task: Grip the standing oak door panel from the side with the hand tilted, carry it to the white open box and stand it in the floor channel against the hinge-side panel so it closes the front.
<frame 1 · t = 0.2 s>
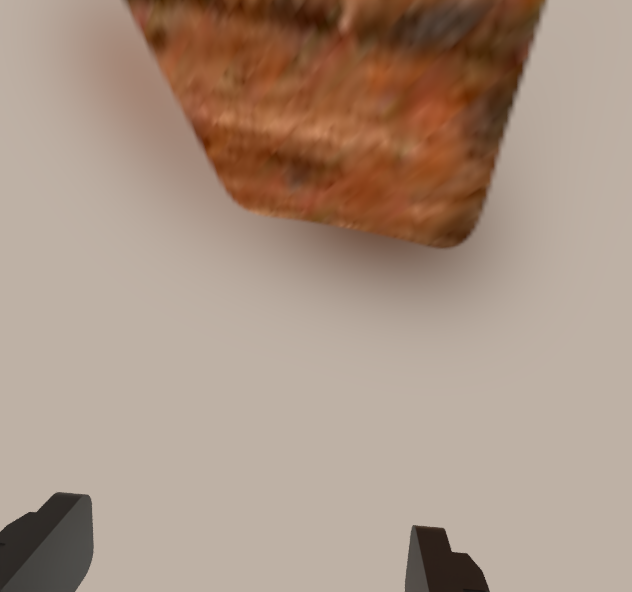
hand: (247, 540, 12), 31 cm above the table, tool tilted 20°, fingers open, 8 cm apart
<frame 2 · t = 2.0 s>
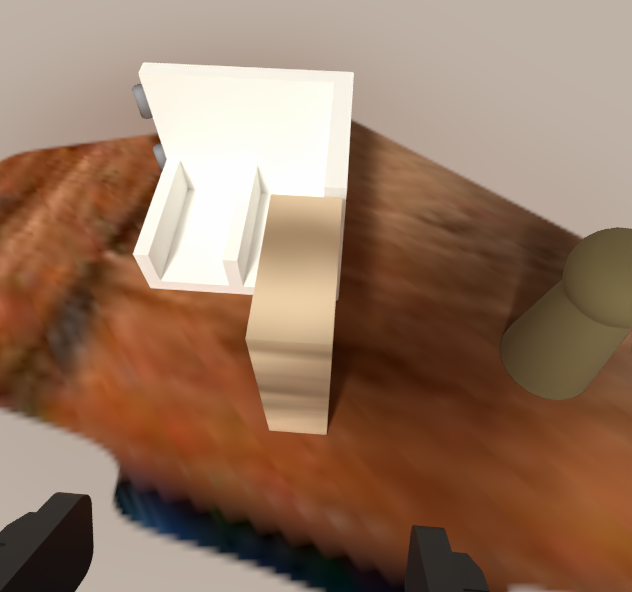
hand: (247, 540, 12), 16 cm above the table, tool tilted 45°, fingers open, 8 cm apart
white open box: (209, 241, 37), on the table
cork: (544, 358, 32), on the table
door: (303, 371, 31), on the table
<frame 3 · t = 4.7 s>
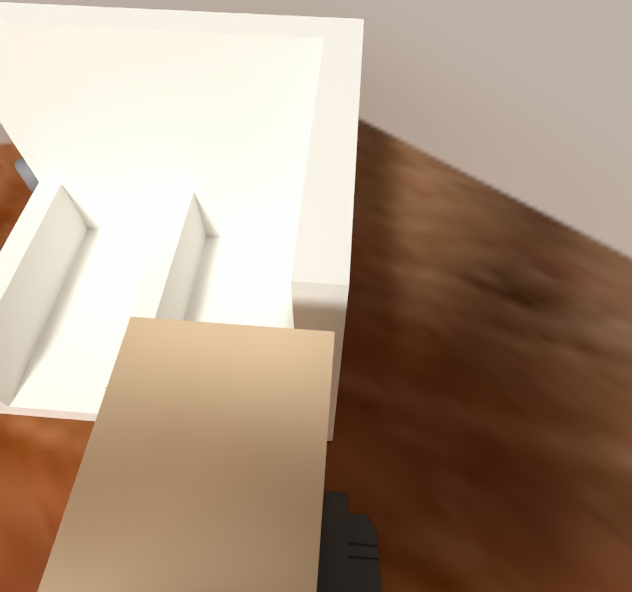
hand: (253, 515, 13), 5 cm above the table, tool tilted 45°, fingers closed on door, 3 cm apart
white open box: (115, 321, 22), on the table
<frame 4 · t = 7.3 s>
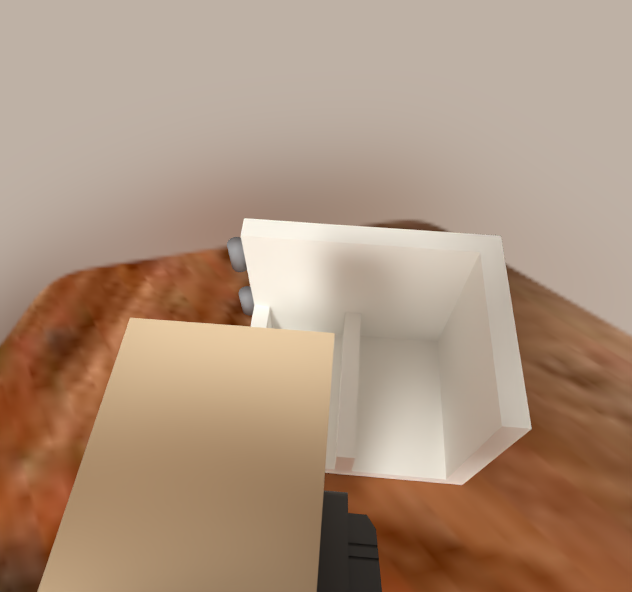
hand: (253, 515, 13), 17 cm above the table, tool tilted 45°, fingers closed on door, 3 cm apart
white open box: (301, 398, 32), on the table
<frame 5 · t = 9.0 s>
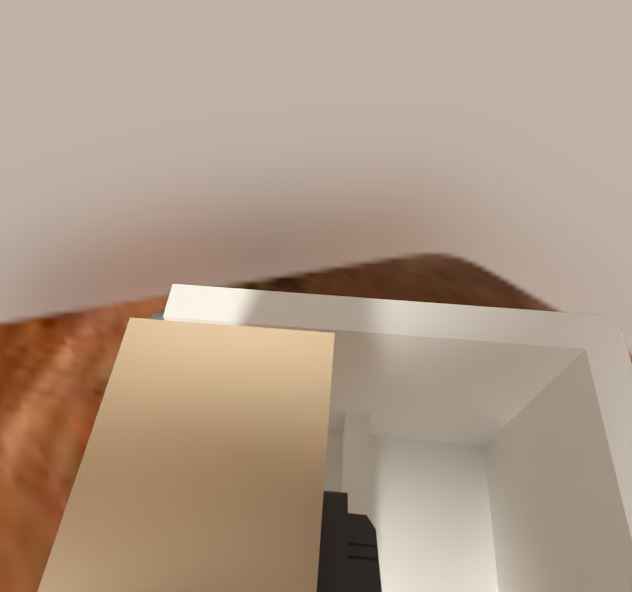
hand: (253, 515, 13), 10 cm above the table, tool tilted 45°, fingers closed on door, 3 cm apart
white open box: (280, 536, 21), on the table
when the fingers open (8 cm above the table, at t = 10.1 s): door drops 1 cm, resting on white open box.
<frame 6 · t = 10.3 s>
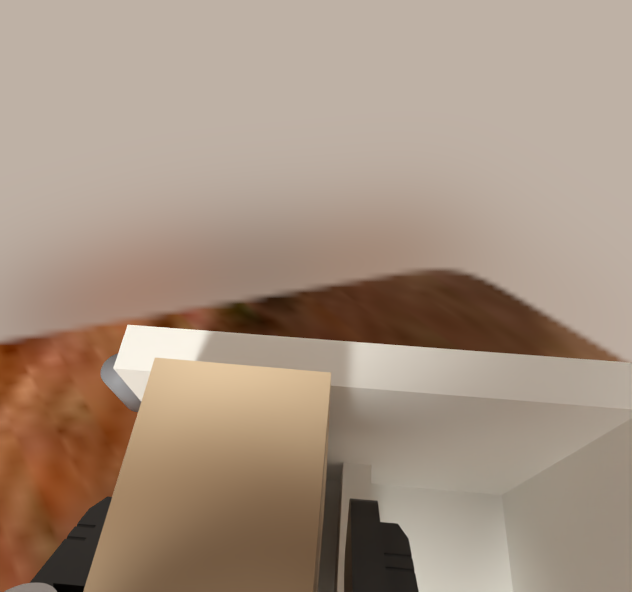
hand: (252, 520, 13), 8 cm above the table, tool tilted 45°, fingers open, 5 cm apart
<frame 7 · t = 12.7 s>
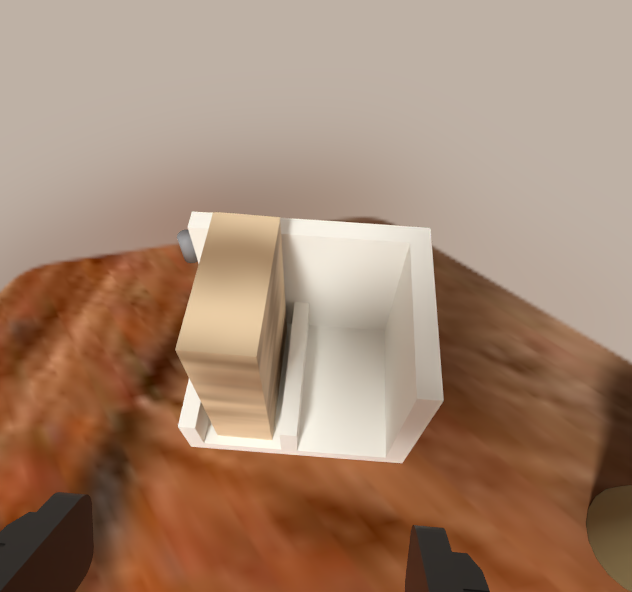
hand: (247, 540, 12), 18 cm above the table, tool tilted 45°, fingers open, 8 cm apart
white open box: (254, 384, 34), on the table
door: (254, 379, 33), point 1 cm above the table, touching white open box
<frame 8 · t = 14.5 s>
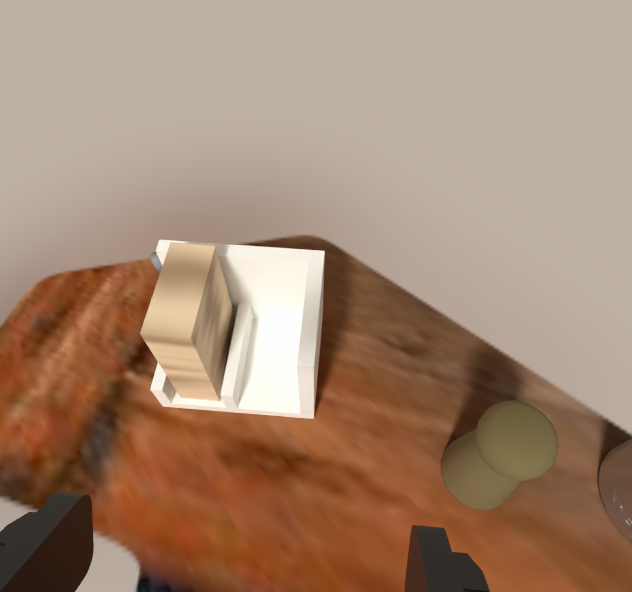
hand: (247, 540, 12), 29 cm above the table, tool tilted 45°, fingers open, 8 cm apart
white open box: (211, 362, 46), on the table
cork: (476, 472, 41), on the table
door: (210, 358, 45), point 1 cm above the table, touching white open box
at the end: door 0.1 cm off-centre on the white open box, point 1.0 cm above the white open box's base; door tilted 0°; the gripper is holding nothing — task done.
